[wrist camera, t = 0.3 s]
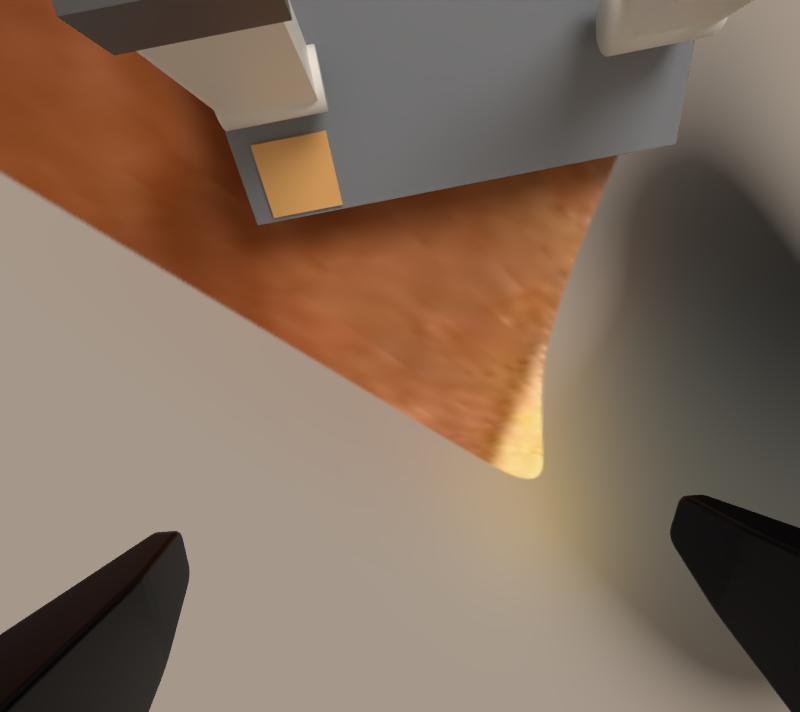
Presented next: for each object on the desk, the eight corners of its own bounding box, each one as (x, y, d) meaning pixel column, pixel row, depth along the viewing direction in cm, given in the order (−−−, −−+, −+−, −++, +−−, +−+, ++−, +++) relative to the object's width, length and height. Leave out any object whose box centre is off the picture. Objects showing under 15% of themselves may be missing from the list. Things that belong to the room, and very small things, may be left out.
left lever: (218, 75, 16) (10, -132, 7) (318, 56, 16) (240, -178, 7) (233, 136, 16) (57, 16, 7) (330, 117, 16) (274, -26, 7)
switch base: (164, -87, 15) (144, -94, 13) (696, -191, 15) (744, -213, 13) (263, 205, 20) (257, 226, 19) (648, 130, 20) (677, 144, 18)
